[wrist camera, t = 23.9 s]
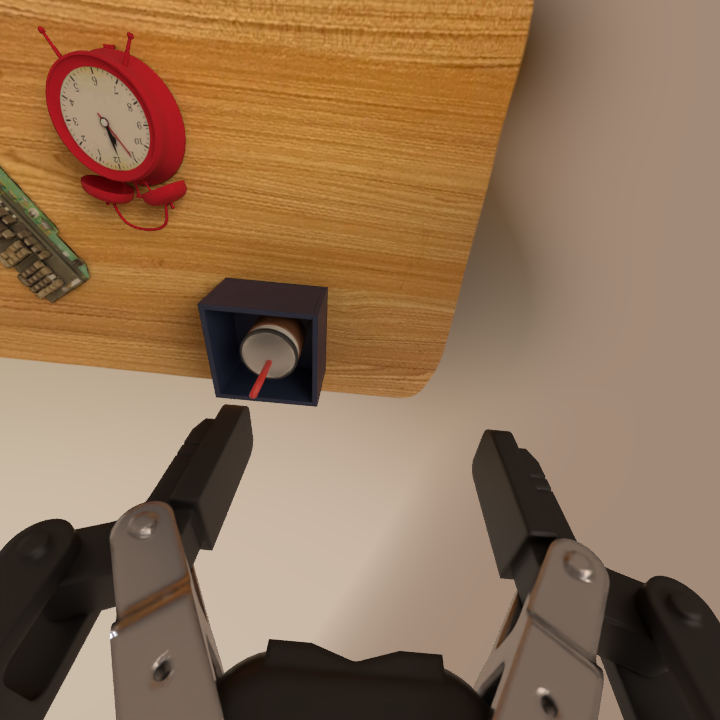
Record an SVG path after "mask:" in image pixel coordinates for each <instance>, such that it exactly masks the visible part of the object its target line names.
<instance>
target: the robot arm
mask: <svg viewBox="0 0 720 720" xmlns="http://www.w3.org/2000/svg"><path fill="white" fill-rule="evenodd" d="M252 447H253V435H252V427H251V419H250V412H249V408H248V407H247V406H238V405H227V404H225V405H224V406H222V408H221V410H220V412H219V413H218V415H217V417H216V418H215V419H207V418H206V419H205V420H203V421H202V422H201V423H200V424H199V425H197V426H196V427H195V428H194V429H193V430H192V431H191V432H190V434H189V436H188V437H187V439H186V440H185V442H184V445H182V447H181V448H180V450H179V451H178V454H177V456H175V458H174V459H173V461H172V462H171V464H170V465H169V467H168V469H167V470H166V472H165V473H164V475H163V476H162V478H161V480H160V481H159V483H158V485H157V486H156V487H155V489H154V491H153V492H152V494H151V495H150V497H149V498H148V500H147V501H146V502H144V503H142V504H139V505H137V506H135V507H133V508H131V509H130V510H128V511H127V512H126V513H124V514H123V515H122V516H121V517H120V518H119V519H118V520H117V521H114V522H110V523H105V524H100V525H96V526H90V527H86V528H81V529H76V530H75V529H74V528H73V527H72V525H71V524H70V523H69V522H67V521H66V520H63V519H50V520H45V521H42V522H39V523H36V524H34V525H32V526H30V527H28V528H26V529H25V530H23V531H21V532H20V533H19V534H17V535H16V536H15V537H14V538H12V539H11V540H10V541H9V542H8V543H7V544H6V545H5V546H4V547H3V549H2V550H1V551H0V720H43V719H44V717H45V715H46V713H47V711H48V710H49V708H50V706H51V704H52V702H53V700H54V698H55V696H56V695H57V693H58V691H59V689H60V687H61V685H62V683H63V681H64V679H65V678H66V676H67V674H68V672H69V670H70V668H71V666H72V665H73V663H74V661H75V659H76V657H77V655H78V653H79V651H80V649H81V647H82V646H83V644H84V642H85V640H86V638H87V636H88V634H89V633H90V631H91V629H92V627H93V625H94V623H95V621H96V619H97V617H98V616H99V614H100V612H101V610H105V609H108V608H112V607H116V613H117V617H116V622H114V623H113V624H112V626H111V632H110V642H111V655H112V669H113V682H114V695H115V708H116V720H598V715H599V709H600V702H601V696H602V690H603V681H604V678H603V671H602V669H601V668H600V667H599V666H598V665H597V664H596V655H599V656H600V657H601V660H602V663H603V665H604V668H605V670H606V673H607V676H608V678H609V681H610V684H611V686H612V689H613V692H614V694H615V697H616V700H617V702H618V705H619V708H620V710H621V713H622V716H623V718H624V720H720V623H719V621H718V619H717V618H716V616H715V615H714V613H713V612H712V610H711V609H710V608H709V606H708V605H707V604H706V603H705V602H704V601H703V600H702V599H701V598H700V597H699V596H698V595H697V594H696V593H695V592H694V591H693V590H691V589H690V588H688V587H687V586H686V585H684V584H682V583H681V582H679V581H677V580H675V579H672V578H669V577H665V576H655V577H653V578H651V579H649V580H648V581H647V582H646V583H642V582H640V581H637V580H635V579H632V578H630V577H627V576H625V575H622V574H620V573H617V572H615V571H612V570H610V569H608V568H606V567H604V565H603V563H602V562H601V560H600V559H599V558H598V557H597V556H596V555H595V554H594V553H593V552H592V551H591V550H590V549H588V548H587V547H586V546H584V545H582V544H581V543H579V542H577V541H576V539H575V537H574V535H573V533H572V531H571V529H570V527H569V525H568V522H567V521H566V519H565V516H564V514H563V512H562V510H561V508H560V506H559V504H558V502H557V500H556V498H555V496H554V494H553V492H551V487H550V485H549V483H548V481H547V480H546V479H545V475H544V473H543V471H542V469H541V467H540V465H539V463H538V461H537V460H536V459H535V458H534V457H533V456H532V455H531V454H530V453H529V452H528V451H527V450H526V449H521V448H518V446H517V443H516V441H515V439H514V437H513V435H512V433H511V432H508V431H498V430H485V432H484V434H483V436H482V439H481V441H480V444H479V446H478V449H477V452H476V454H475V457H474V459H473V464H472V474H473V479H474V483H475V487H476V490H477V494H478V498H479V502H480V505H481V509H482V512H483V516H484V520H485V523H486V527H487V531H488V535H489V538H490V542H491V546H492V549H493V553H494V556H495V560H496V564H497V568H498V571H499V575H500V578H504V579H514V581H515V584H516V587H517V591H516V593H515V594H514V597H513V599H512V602H511V604H510V607H509V609H508V612H507V614H506V617H505V619H504V621H503V624H502V626H501V629H500V631H499V634H498V636H497V639H496V641H495V644H494V646H493V649H492V651H491V653H490V655H489V657H488V659H487V661H486V663H485V665H484V666H483V668H482V670H481V672H480V674H479V676H478V678H477V681H476V683H475V685H474V688H472V687H471V686H470V685H469V684H467V683H466V682H465V681H464V680H462V679H461V678H460V677H458V676H457V675H455V674H453V673H452V672H450V671H448V670H446V669H444V666H443V657H442V655H438V654H427V653H415V652H404V651H398V652H394V653H390V654H387V655H382V656H378V657H374V658H370V659H366V660H362V661H357V662H355V661H351V660H349V659H346V658H344V657H342V656H340V655H337V654H335V653H333V652H331V651H328V650H326V649H324V648H321V647H319V646H317V645H315V644H313V643H306V642H295V641H284V640H272V639H269V642H268V646H267V651H266V652H263V653H258V654H256V655H254V656H251V657H249V658H247V659H245V660H243V661H241V662H239V663H238V664H236V665H235V666H233V667H232V668H231V669H229V670H228V671H227V672H225V673H224V671H223V668H222V664H221V660H220V657H219V653H218V650H217V647H216V643H215V640H214V637H213V634H212V631H211V628H210V624H209V620H208V616H207V613H206V610H205V606H204V602H203V598H202V594H201V591H200V587H199V583H198V579H197V576H196V572H195V568H194V565H193V564H194V561H195V559H196V557H197V554H198V552H199V550H200V549H203V550H213V547H214V545H215V542H216V540H217V537H218V535H219V532H220V530H221V527H222V525H223V522H224V520H225V517H226V515H227V512H228V510H229V507H230V505H231V502H232V500H233V498H234V495H235V492H236V490H237V488H238V485H239V483H240V480H241V478H242V475H243V473H244V470H245V468H246V465H247V463H248V460H249V458H250V455H251V452H252Z"/></svg>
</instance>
